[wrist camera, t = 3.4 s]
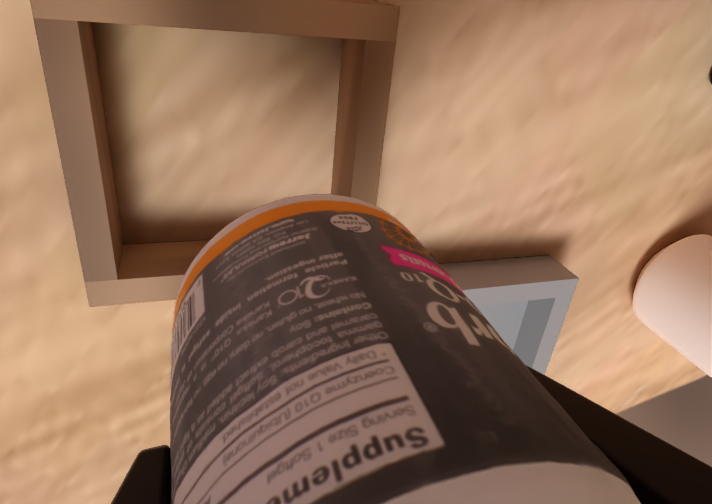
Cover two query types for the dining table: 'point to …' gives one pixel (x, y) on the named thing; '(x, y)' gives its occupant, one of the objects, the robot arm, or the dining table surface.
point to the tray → (520, 301)
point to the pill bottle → (356, 376)
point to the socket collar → (213, 12)
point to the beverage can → (680, 298)
